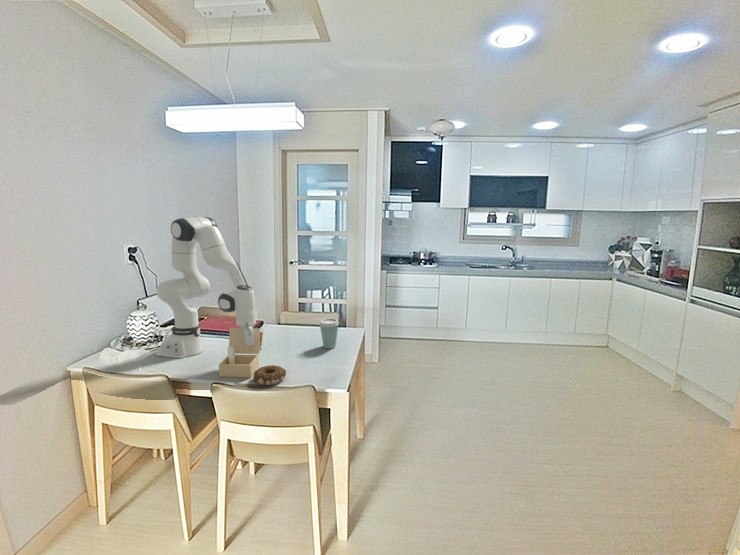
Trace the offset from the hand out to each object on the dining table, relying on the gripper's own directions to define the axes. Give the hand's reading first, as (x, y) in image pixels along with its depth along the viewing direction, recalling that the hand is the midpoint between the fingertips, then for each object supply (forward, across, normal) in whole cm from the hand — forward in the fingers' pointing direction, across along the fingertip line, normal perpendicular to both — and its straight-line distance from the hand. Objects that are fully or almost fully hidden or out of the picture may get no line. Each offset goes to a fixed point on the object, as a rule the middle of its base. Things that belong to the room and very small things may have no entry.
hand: (247, 348), depth 184 cm
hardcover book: (+10, +32, -6) cm, 34 cm away
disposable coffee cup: (+10, +12, -45) cm, 47 cm away
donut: (+10, -17, -7) cm, 21 cm away
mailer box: (+9, -4, +4) cm, 11 cm away
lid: (-3, +3, +1) cm, 4 cm away
